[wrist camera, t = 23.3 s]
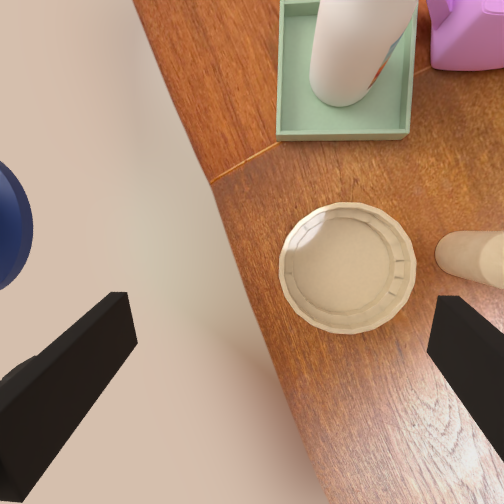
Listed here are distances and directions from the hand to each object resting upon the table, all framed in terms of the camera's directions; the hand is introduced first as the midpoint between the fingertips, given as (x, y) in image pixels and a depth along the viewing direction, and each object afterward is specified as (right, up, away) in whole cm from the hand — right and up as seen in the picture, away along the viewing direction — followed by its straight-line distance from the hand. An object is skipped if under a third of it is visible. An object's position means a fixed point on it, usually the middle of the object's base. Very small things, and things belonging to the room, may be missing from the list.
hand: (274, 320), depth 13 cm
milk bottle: (+10, +24, +22) cm, 34 cm away
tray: (+10, +24, +23) cm, 35 cm away
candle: (+24, +3, +23) cm, 33 cm away
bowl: (+10, +1, +25) cm, 27 cm away
